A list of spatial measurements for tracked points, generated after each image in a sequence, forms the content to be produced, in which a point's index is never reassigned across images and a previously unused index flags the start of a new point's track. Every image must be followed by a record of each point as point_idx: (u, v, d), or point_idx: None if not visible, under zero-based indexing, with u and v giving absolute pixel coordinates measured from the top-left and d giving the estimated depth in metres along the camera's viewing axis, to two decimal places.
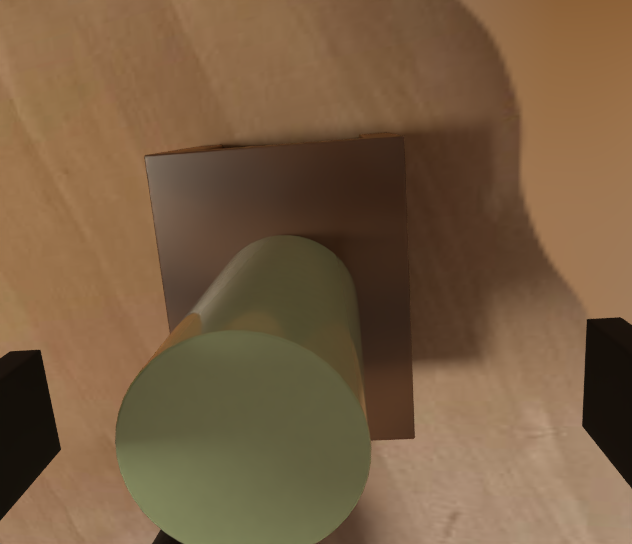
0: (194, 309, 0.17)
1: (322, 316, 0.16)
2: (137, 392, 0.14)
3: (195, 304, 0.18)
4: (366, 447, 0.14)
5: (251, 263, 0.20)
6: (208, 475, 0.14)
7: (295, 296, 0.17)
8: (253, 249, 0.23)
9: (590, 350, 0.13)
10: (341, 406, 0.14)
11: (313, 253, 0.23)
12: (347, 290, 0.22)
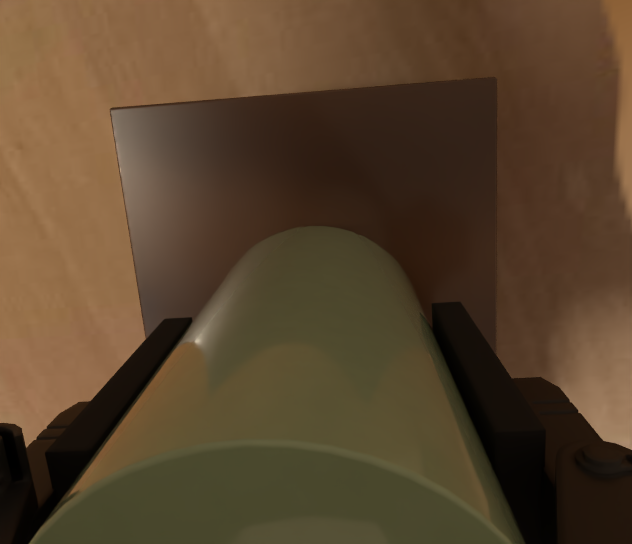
0: (175, 357, 0.09)
1: (421, 376, 0.08)
2: None
3: (179, 343, 0.10)
4: None
5: (274, 269, 0.12)
6: None
7: (366, 335, 0.09)
8: (272, 246, 0.15)
9: (433, 330, 0.15)
10: None
11: (365, 252, 0.15)
12: (421, 310, 0.14)
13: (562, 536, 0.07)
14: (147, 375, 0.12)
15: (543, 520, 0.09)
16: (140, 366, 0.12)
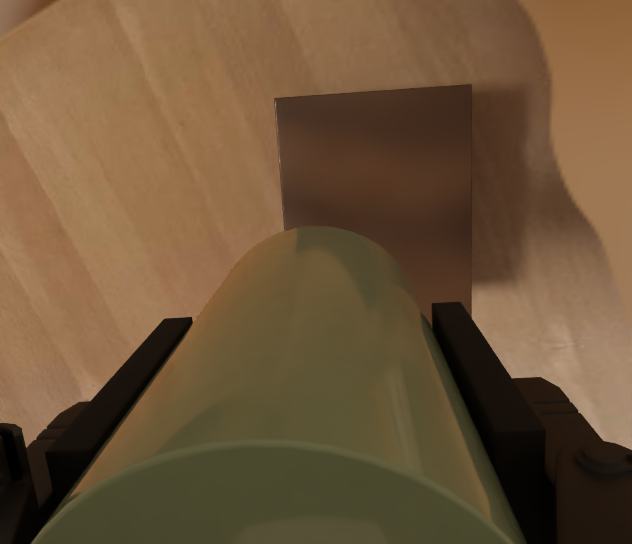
0: (177, 358, 0.09)
1: (422, 376, 0.08)
2: None
3: (180, 343, 0.10)
4: None
5: (274, 269, 0.12)
6: None
7: (367, 335, 0.09)
8: (273, 247, 0.15)
9: (433, 330, 0.15)
10: None
11: (365, 253, 0.15)
12: (422, 311, 0.14)
13: (562, 536, 0.07)
14: (147, 375, 0.12)
15: (543, 520, 0.09)
16: (140, 366, 0.12)
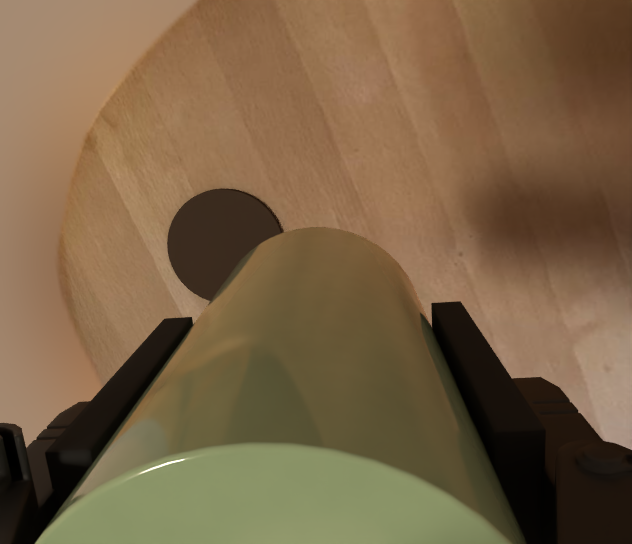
0: (178, 360, 0.09)
1: (423, 378, 0.08)
2: None
3: (181, 345, 0.10)
4: None
5: (275, 271, 0.12)
6: None
7: (368, 337, 0.09)
8: (273, 248, 0.15)
9: (433, 330, 0.15)
10: None
11: (366, 254, 0.15)
12: (423, 312, 0.14)
13: (562, 536, 0.07)
14: (147, 375, 0.12)
15: (543, 520, 0.09)
16: (140, 366, 0.12)
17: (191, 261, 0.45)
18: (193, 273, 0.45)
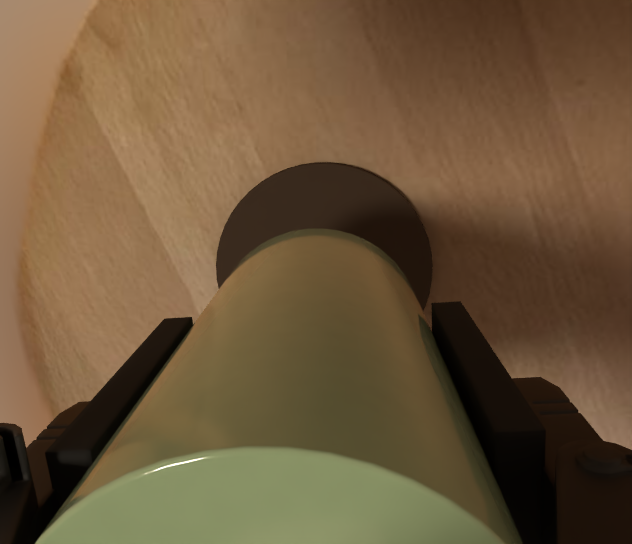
0: (176, 362, 0.09)
1: (422, 380, 0.08)
2: None
3: (180, 347, 0.10)
4: None
5: (274, 273, 0.12)
6: None
7: (366, 340, 0.09)
8: (272, 249, 0.15)
9: (433, 330, 0.15)
10: None
11: (365, 255, 0.15)
12: (422, 313, 0.14)
13: (562, 536, 0.07)
14: (147, 375, 0.12)
15: (543, 520, 0.09)
16: (140, 366, 0.12)
17: None
18: None
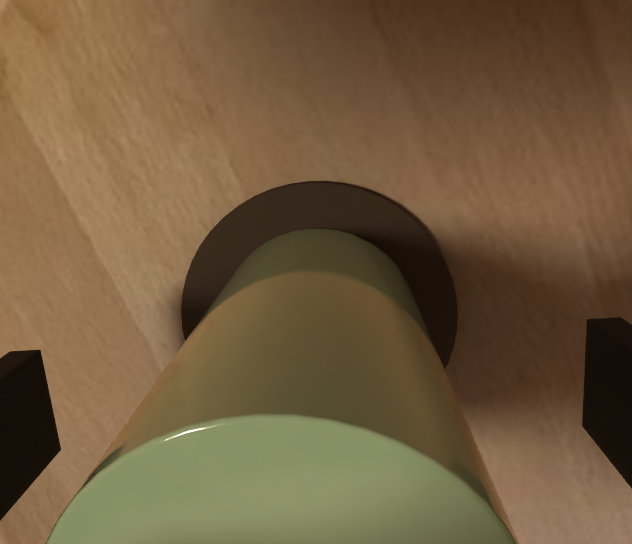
0: (189, 349, 0.10)
1: (413, 365, 0.09)
2: (72, 535, 0.07)
3: (191, 337, 0.11)
4: None
5: (278, 269, 0.13)
6: None
7: (363, 329, 0.10)
8: (276, 248, 0.16)
9: (590, 350, 0.13)
10: None
11: (363, 254, 0.16)
12: (416, 308, 0.15)
13: None
14: None
15: None
16: None
17: None
18: None
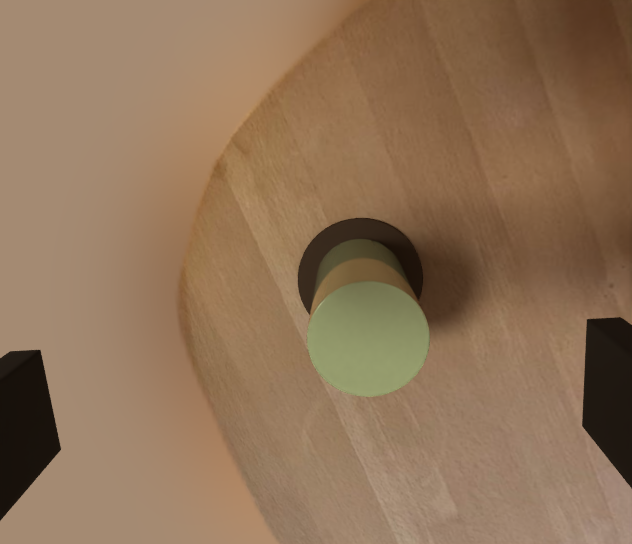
0: (332, 276, 0.33)
1: (400, 279, 0.32)
2: (320, 310, 0.30)
3: (328, 274, 0.34)
4: (427, 337, 0.30)
5: (352, 254, 0.36)
6: (351, 352, 0.30)
7: (386, 269, 0.33)
8: (346, 247, 0.39)
9: (590, 350, 0.13)
10: (416, 317, 0.30)
11: (382, 249, 0.39)
12: (403, 271, 0.38)
13: None
14: None
15: None
16: None
17: None
18: None
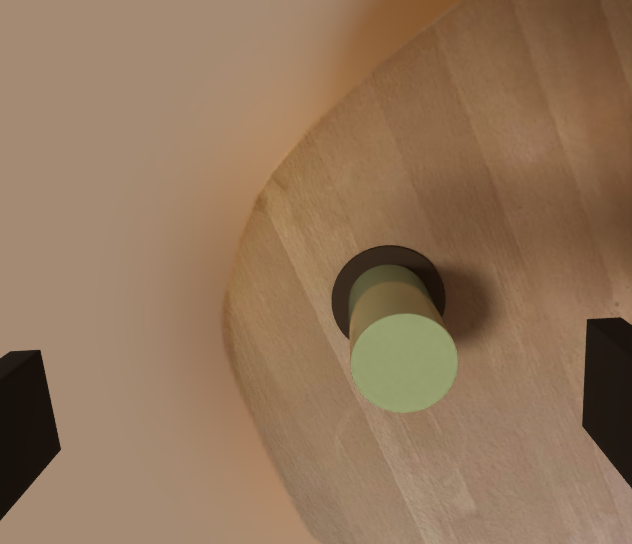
0: (370, 305, 0.37)
1: (430, 308, 0.36)
2: (362, 339, 0.34)
3: (365, 303, 0.38)
4: (456, 361, 0.34)
5: (384, 282, 0.40)
6: (389, 374, 0.35)
7: (417, 299, 0.37)
8: (377, 273, 0.43)
9: (590, 350, 0.13)
10: (447, 344, 0.34)
11: (410, 275, 0.43)
12: None
13: None
14: None
15: None
16: None
17: None
18: None
